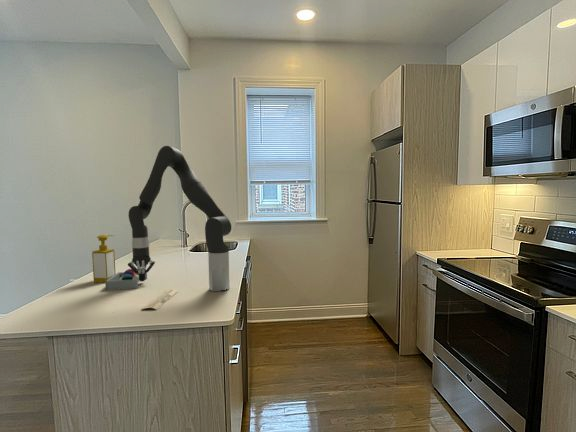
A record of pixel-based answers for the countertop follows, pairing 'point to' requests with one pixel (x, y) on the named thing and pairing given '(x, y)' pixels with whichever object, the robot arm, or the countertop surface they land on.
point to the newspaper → (160, 299)
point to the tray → (121, 282)
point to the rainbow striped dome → (129, 275)
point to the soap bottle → (103, 261)
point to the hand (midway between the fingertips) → (142, 280)
